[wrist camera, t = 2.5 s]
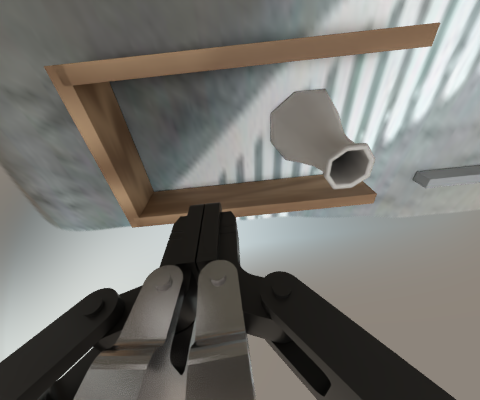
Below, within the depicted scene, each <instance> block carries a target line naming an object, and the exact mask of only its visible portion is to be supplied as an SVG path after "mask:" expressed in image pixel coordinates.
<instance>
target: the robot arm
mask: <svg viewBox="0 0 480 400" xmlns="http://www.w3.org/2000/svg"><path fill="white" fill-rule="evenodd" d="M247 334H250V335H253V336H257V337H260V338H264V339H265V340H266V341H267V342H268V344H269V345H270V346H271V347H272V348H273V350H274V351H275V352H276V353H277V354H278V355H279V356H280V357H281V359H282V360H283V361H284V362H285V363H286V364H287V366H288V367H289V368H290V369H291V370H292V371H293V372H294V373H295V375H296V376H297V377H298V378H299V379H300V380H301V382H303V384H304V385H305V386H306V387H307V388H308V390H309V391H310V392H311V393H312V394H313V395H314V396H315V397H316V399H317V400H456V399H455V398H454V397H452V396H451V395H449V394H448V393H447V392H446V391H444V390H443V389H442V388H440V387H439V386H438V385H436V384H435V383H434V382H432V381H431V380H430V379H429V378H427V377H426V376H424V375H423V374H422V373H421V372H419V371H418V370H417V369H415V368H414V367H413V366H411V365H410V364H408V363H407V362H406V361H405V360H404V359H402V358H401V357H400V356H398V355H397V354H396V353H394V352H393V351H392V350H390V349H389V348H388V347H386V346H385V345H384V344H383V343H381V342H380V341H379V340H377V339H376V338H375V337H373V336H372V335H371V334H369V333H368V332H367V331H365V330H364V329H363V328H362V327H360V326H359V325H358V324H356V323H355V322H354V321H352V320H351V319H350V318H348V317H347V316H346V315H344V314H343V313H342V312H340V311H339V310H338V309H337V308H335V307H334V306H332V305H331V304H330V303H329V302H327V301H326V300H325V299H323V298H322V297H321V296H319V295H318V294H317V293H315V292H314V291H313V290H311V289H310V288H309V287H308V286H306V285H305V284H304V283H302V282H301V281H300V280H298V279H297V278H296V277H294V276H293V275H291V274H289V273H286V272H281V271H278V272H273V273H270V274H268V275H267V276H266V277H265V278H263V277H259V276H255V275H251V274H249V273H247V272H246V271H244V270H243V269H242V268H241V266H240V255H239V239H238V231H237V224H236V217H235V216H234V214H233V213H232V212H231V211H227V212H222V207H221V203H220V202H217V203H208V204H199V205H190V207H189V211H188V214H187V216H180V218H179V219H178V220H177V221H176V222H175V223H174V226H173V229H172V233H171V235H170V238H169V241H168V244H167V247H166V250H165V253H164V256H163V259H162V262H161V265H160V268H158V269H156V270H154V271H153V272H152V273H151V274H150V275H149V276H148V277H147V278H146V280H145V282H144V284H143V285H142V286H140V287H138V288H135V289H133V290H130V291H127V292H125V293H122V294H120V295H118V294H117V292H116V291H115V290H113V289H110V288H104V289H100V290H97V291H95V292H93V293H91V294H89V295H88V296H86V297H85V298H84V299H83V300H81V301H80V302H79V303H77V304H76V305H75V306H74V307H72V308H71V309H70V310H69V311H67V312H66V313H64V314H63V315H62V316H60V317H59V318H58V319H57V320H55V321H54V322H53V323H51V324H50V325H49V326H47V327H46V328H45V329H43V330H42V331H41V332H40V333H38V334H37V335H36V336H34V337H33V338H32V339H30V340H29V341H28V342H27V343H25V344H24V345H23V346H21V347H20V348H19V349H18V350H16V351H15V352H14V353H12V354H11V355H10V356H8V357H7V358H6V359H5V360H3V361H2V362H1V363H0V400H256V395H255V388H254V380H253V374H252V367H251V360H250V353H249V346H248V338H247ZM92 347H94V348H92ZM91 348H92V349H91ZM90 349H91V350H90ZM89 350H90V351H89ZM88 351H89V352H88ZM86 352H88V353H87V354H86V355H85V356H84V357H83V358H82V359H81V360H80V361H79V362H78V363H77V364H76V365H75V366H73V365H74V364H75V363H76V362H77V361H78V360H79V359H80V358H81V357H82V356H83V355H84V354H85V353H86ZM72 366H73V367H72ZM70 367H72V368H71V369H70V370H69V371H68V372H67V373H66V374H65V375H64V376H63V377H62V378H60V377H61V376H62V375H63V374H64V373H65V372H66V371H67V370H68V369H69V368H70ZM59 378H60V379H59ZM58 379H59V380H58Z"/></svg>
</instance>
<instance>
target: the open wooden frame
mask: <svg viewBox="0 0 480 400" xmlns="http://www.w3.org/2000/svg"><path fill="white" fill-rule="evenodd" d="M439 25H440V23H432V24H423V25H414V26H404V27H395V28H386V29H377V30H368V31H359V32H350V33H341V34H332V35H323V36H314V37H305V38H296V39H287V40H278V41H269V42H260V43H251V44H242V45H233V46H224V47H215V48H206V49H197V50H188V51H179V52H170V53H161V54H152V55H143V56H134V57H125V58H116V59H107V60H97V61H88V62H79V63H70V64H61V65H52V66H44V68H45V70H46V71H47V73H48V75H49V77H50V79H51V80H52V82H53V84H54V86H55V88H56V90H57V91H58V93H59V95H60V97H61V99H62V101H63V102H64V104H65V106H66V108H67V110H68V111H69V113H70V115H71V117H72V119H73V121H74V122H75V124H76V126H77V128H78V130H79V131H80V133H81V135H82V137H83V139H84V141H85V142H86V144H87V146H88V148H89V150H90V151H91V153H92V155H93V157H94V159H95V161H96V162H97V164H98V166H99V168H100V170H101V172H102V173H103V175H104V177H105V179H106V181H107V182H108V184H109V186H110V188H111V190H112V192H113V193H114V195H115V197H116V199H117V201H118V202H119V204H120V206H121V208H122V210H123V212H124V213H125V215H126V217H127V219H128V221H129V222H130V224H131V226H132V227H143V226H153V225H162V224H173V223H175V222H176V221H177V220H178V219H179V218H180V216H187V214H188V211H189V207H190V205H199V204H208V203H217V202H220V203H221V207H222V212H227V211H231V212H232V213H233V214H234V216H235V217H242V216H252V215H262V214H272V213H281V212H291V211H301V210H311V209H321V208H331V207H341V206H350V205H360V204H370V203H374V200H375V197H376V195H377V194H376V193H375V192H374V191H373V190H372V189H371V188H370V187H369V186H368V185H366V184H365V183H364V182H363V181H362V182H360V183H359V184H357V185H355V186H354V187H352V188H343V189H333V188H332V187H331V185H330V184H329V183H328V181H327V180H326V179H325V177H324V175H313V176H303V177H294V178H284V179H274V180H264V181H255V182H245V183H235V184H226V185H216V186H206V187H197V188H187V189H177V190H168V191H158V192H154V191H153V189H152V186H151V184H150V181H149V179H148V176H147V174H146V171H145V169H144V166H143V164H142V162H141V159H140V157H139V154H138V152H137V149H136V147H135V144H134V142H133V139H132V137H131V135H130V132H129V130H128V127H127V125H126V122H125V120H124V117H123V115H122V112H121V110H120V107H119V105H118V103H117V100H116V98H115V95H114V93H113V90H112V88H111V85H110V83H109V81H118V80H127V79H136V78H145V77H154V76H164V75H173V74H182V73H191V72H200V71H209V70H218V69H227V68H237V67H246V66H255V65H264V64H273V63H282V62H291V61H300V60H310V59H319V58H328V57H337V56H346V55H355V54H364V53H373V52H383V51H392V50H401V49H410V48H419V47H428V46H432V44H433V41H434V38H435V36H436V33H437V30H438V27H439Z"/></svg>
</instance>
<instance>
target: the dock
mask: <svg viewBox="0 0 480 400" xmlns="http://www.w3.org/2000/svg"><path fill="white" fill-rule="evenodd" d="M413 180H414V181H415V182H417V183H418V184H420V185H421V186H423V187H425V188H432V187H442V186H452V185H462V184H472V183H480V165H477V166H468V167H458V168H448V169H438V170H429V171H419V172H417V173H416V175H415V177H414V179H413Z"/></svg>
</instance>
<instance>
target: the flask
mask: <svg viewBox="0 0 480 400" xmlns="http://www.w3.org/2000/svg"><path fill="white" fill-rule="evenodd" d="M271 143H272V144H273V145H274V146H275V147H276V149H277V150H278V151H279V152H280V154H281V155H282V156H283V157H284V158H285V160H289V161H294V162H300V163H304V164H308V165H312V166H315V167H316V168H318V169H320V170H321V171H323V175H324V177H325V179H326V180H327V181H328V183H329V184H330V185H331V187H332V188H333V189H343V188H352V187H354V186H355V185H357V184H359V183H360V182H362V181H363V180H365V179H367V178H368V177H370V174H371V171H372V168H373V165H374V162H375V157H374V155H373V154H372V152H371V150H370V148H369V146H368V144H366V143H358V144H355V143H354V142H353V141H351V140H350V139H348V138H347V136H346V135H345V134H344V131H343V128H342V125H341V121H340V117H339V114H338V111H337V110H336V108H335V106H334V104H333V102H332V101H331V99H330V97H329V95H328V93H327V91H326V90H325V89H320V90H310V91H300V92H295V93H293V94H292V95H291V96H290V97H289V98H288V99H287V100H286V101H284V102H283V103H282V104H281V105H280V106H279V107H278V108H277V109H276V110H274V111H273V112H272V113H271Z"/></svg>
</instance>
